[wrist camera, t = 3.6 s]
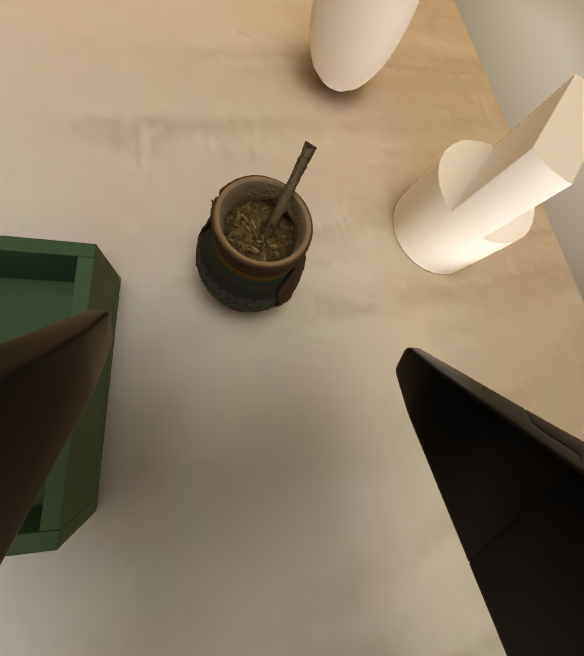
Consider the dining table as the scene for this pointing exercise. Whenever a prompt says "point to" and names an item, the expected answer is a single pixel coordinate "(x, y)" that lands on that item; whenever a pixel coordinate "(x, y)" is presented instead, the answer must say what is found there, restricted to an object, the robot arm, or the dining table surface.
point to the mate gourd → (256, 240)
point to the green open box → (87, 436)
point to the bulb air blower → (355, 38)
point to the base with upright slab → (492, 186)
